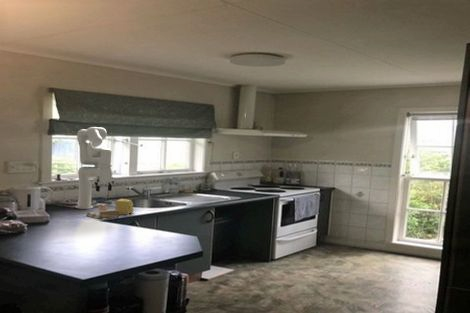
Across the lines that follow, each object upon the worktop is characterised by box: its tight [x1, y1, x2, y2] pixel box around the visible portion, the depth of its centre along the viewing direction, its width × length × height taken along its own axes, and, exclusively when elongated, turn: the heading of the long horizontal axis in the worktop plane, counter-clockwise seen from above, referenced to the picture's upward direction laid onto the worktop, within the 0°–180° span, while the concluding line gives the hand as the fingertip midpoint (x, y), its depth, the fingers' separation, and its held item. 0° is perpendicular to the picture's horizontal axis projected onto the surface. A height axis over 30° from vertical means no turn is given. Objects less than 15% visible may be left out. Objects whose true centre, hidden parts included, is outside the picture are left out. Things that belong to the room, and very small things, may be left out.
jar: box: [97, 204, 109, 215], centre depth 318 cm, size 6×6×8 cm
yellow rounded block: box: [115, 198, 134, 215], centre depth 335 cm, size 10×11×10 cm
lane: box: [86, 209, 120, 220], centre depth 318 cm, size 16×15×5 cm
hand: (103, 191), depth 317 cm, fingers open, 9 cm apart
